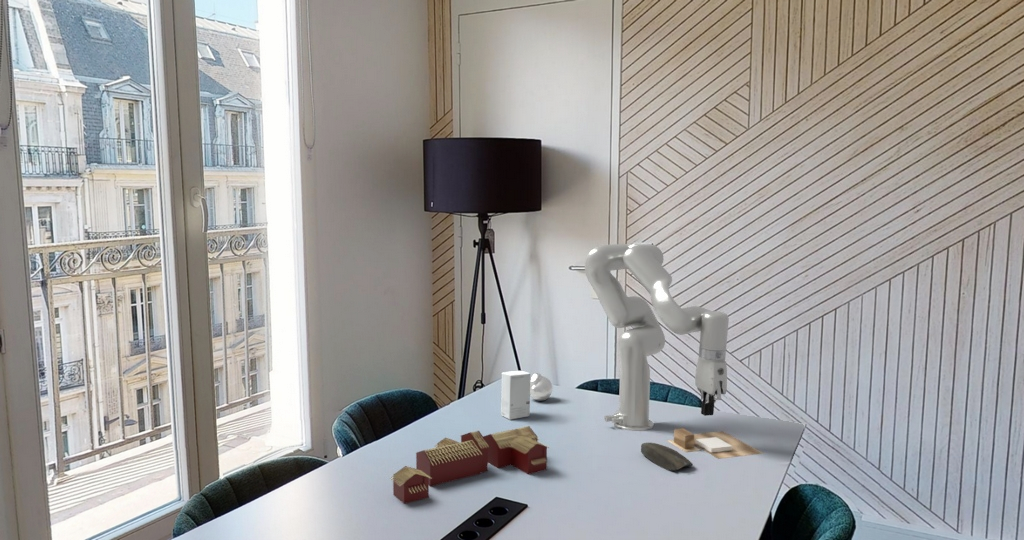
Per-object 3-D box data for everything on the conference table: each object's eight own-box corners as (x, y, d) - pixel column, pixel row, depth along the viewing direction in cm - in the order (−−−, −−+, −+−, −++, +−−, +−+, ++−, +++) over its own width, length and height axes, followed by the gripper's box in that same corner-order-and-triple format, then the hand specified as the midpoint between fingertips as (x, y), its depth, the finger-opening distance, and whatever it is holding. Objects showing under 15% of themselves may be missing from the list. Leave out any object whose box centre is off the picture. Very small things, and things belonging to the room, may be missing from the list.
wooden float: (685, 455, 204) (686, 438, 203) (667, 443, 213) (667, 427, 213) (700, 453, 205) (701, 436, 205) (681, 441, 215) (682, 425, 214)
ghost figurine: (527, 396, 261) (527, 369, 260) (552, 397, 260) (553, 370, 259) (525, 403, 252) (525, 375, 251) (551, 404, 251) (552, 376, 250)
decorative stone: (695, 471, 191) (696, 456, 191) (678, 476, 188) (678, 461, 188) (652, 451, 206) (652, 437, 205) (635, 456, 203) (635, 441, 202)
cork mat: (718, 460, 199) (718, 458, 199) (680, 437, 218) (680, 435, 217) (763, 455, 203) (763, 453, 203) (722, 432, 222) (722, 431, 222)
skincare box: (509, 420, 233) (509, 375, 232) (499, 415, 238) (500, 372, 237) (530, 416, 238) (531, 372, 236) (520, 411, 243) (521, 368, 241)
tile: (695, 444, 210) (711, 453, 203) (695, 439, 210) (711, 448, 203) (716, 441, 212) (732, 450, 205) (716, 437, 212) (732, 446, 205)
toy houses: (515, 448, 208) (515, 414, 207) (558, 470, 191) (558, 434, 190) (370, 481, 183) (370, 443, 182) (405, 510, 166) (405, 468, 165)
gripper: (738, 360, 201) (733, 422, 204) (708, 347, 215) (703, 405, 218) (715, 361, 199) (710, 424, 201) (687, 348, 213) (682, 407, 215)
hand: (707, 414), depth 209 cm, fingers closed
